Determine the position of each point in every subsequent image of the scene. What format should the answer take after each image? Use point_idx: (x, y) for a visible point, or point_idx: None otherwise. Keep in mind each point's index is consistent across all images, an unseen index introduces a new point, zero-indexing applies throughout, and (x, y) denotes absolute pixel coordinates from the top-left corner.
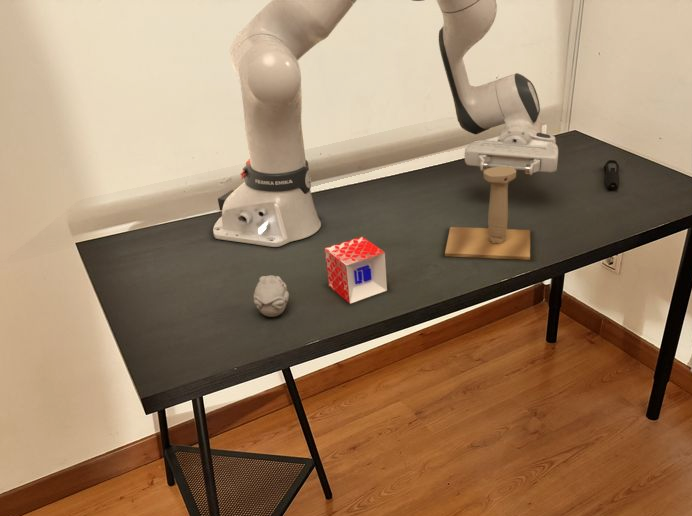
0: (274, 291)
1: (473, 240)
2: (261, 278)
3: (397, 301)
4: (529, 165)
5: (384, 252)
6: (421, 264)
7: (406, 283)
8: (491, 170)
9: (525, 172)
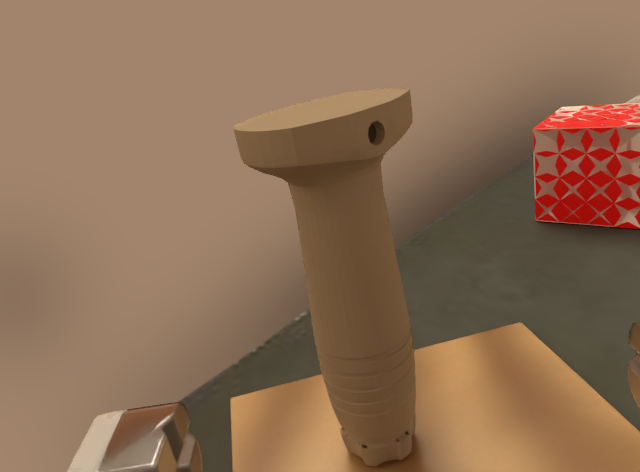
0: (628, 101)
1: (481, 413)
2: None
3: (488, 215)
4: (121, 445)
5: (533, 129)
6: (553, 289)
7: (519, 242)
8: (371, 98)
9: (191, 438)
